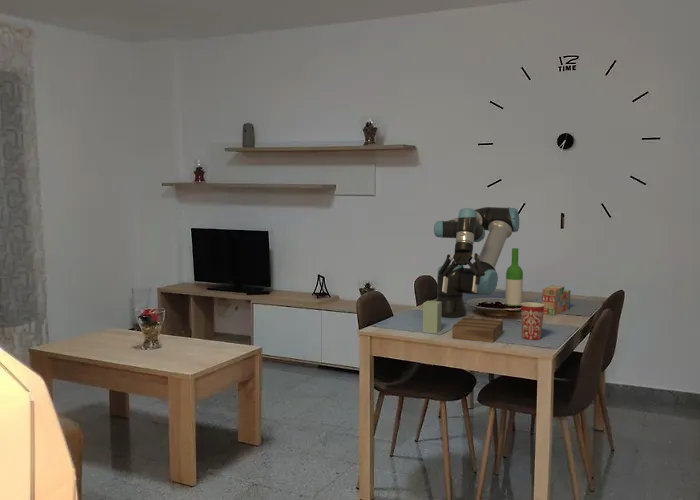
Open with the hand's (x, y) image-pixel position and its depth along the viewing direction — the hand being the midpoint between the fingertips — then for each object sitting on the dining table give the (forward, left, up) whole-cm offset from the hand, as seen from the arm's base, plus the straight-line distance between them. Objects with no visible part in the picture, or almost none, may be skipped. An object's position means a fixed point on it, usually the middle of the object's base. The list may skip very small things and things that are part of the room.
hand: (459, 292), depth 271 cm
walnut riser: (+8, +10, -16) cm, 20 cm away
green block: (+8, -9, -16) cm, 20 cm away
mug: (+1, +30, -16) cm, 34 cm away
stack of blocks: (-60, +32, -16) cm, 69 cm away
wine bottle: (-51, +13, -16) cm, 55 cm away
